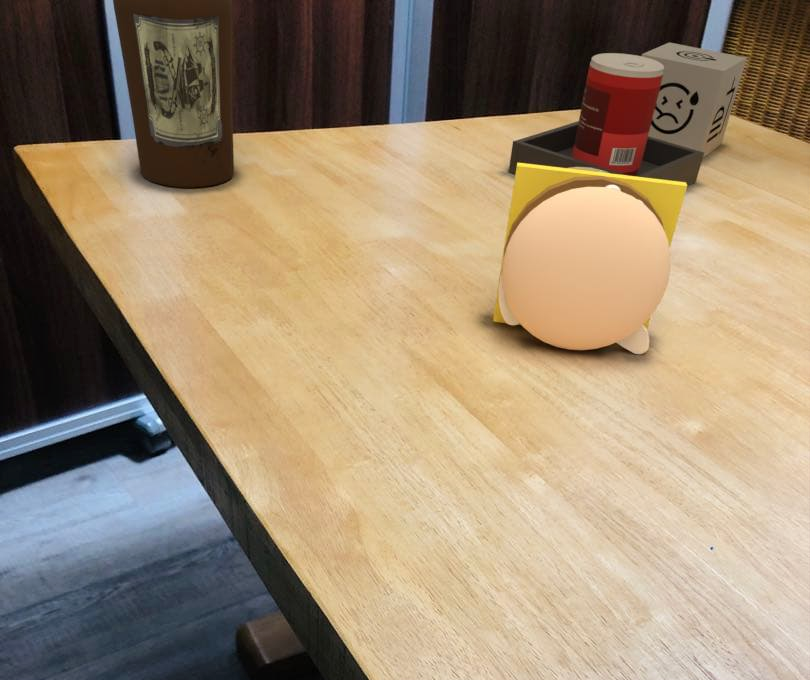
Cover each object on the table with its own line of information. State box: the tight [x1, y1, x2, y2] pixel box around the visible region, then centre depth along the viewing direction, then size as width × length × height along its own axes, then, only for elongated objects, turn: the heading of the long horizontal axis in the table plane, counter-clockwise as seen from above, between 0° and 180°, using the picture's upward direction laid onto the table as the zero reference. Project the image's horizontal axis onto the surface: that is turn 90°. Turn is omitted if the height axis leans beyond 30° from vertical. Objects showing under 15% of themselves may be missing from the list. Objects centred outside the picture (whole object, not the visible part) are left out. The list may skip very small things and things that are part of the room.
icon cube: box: [640, 42, 748, 158], centre depth 108 cm, size 10×10×10 cm
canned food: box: [572, 52, 664, 176], centre depth 94 cm, size 8×8×11 cm
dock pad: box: [508, 120, 704, 187], centre depth 97 cm, size 16×16×3 cm
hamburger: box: [492, 163, 688, 355], centre depth 64 cm, size 12×8×12 cm
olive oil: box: [112, 0, 235, 189], centre depth 81 cm, size 11×11×25 cm
